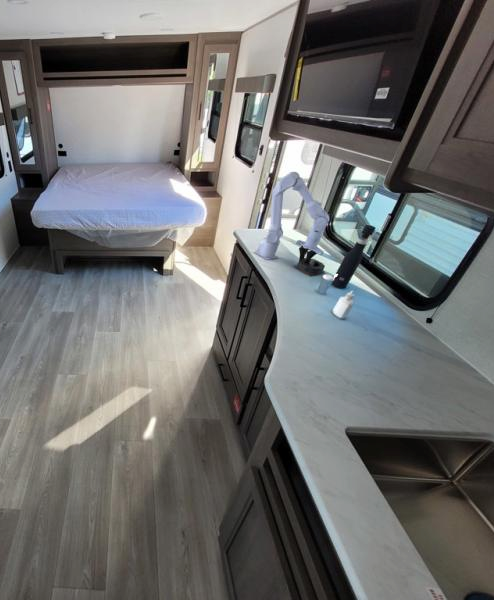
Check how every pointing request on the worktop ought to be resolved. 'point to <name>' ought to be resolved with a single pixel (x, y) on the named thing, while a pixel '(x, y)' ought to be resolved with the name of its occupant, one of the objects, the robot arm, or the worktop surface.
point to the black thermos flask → (352, 260)
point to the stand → (310, 265)
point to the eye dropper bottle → (344, 305)
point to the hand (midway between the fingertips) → (303, 261)
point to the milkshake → (325, 283)
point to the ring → (315, 269)
